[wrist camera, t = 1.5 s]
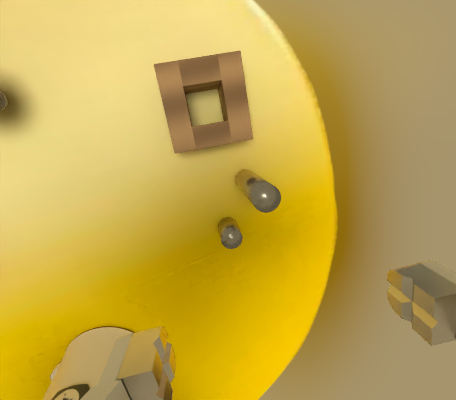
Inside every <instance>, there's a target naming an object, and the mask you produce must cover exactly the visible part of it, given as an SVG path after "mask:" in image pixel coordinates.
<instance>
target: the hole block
mask: <svg viewBox="0 0 456 400" xmlns="http://www.w3.org/2000/svg"><path fill="white" fill-rule="evenodd" d="M154 68H155V72H156V76H157V80H158V84H159V89H160V93H161V97H162V101H163V106H164V110H165V114H166V118H167V122H168V127H169V131H170V135H171V139H172V144H173V148H174V152H175V153H180V152H185V151H191V150H196V149H201V148H207V147H212V146H217V145H223V144H228V143H233V142H238V141H244V140H249V139H253V135H252V128H251V121H250V114H249V107H248V100H247V93H246V86H245V79H244V72H243V65H242V58H241V51H235V52H228V53H222V54H216V55H210V56H203V57H197V58H191V59H184V60H178V61H172V62H165V63H159V64H154ZM217 88H218V90H219V96H220V102H221V108H222V114H223V119H224V121H223V122H217V123H212V124H206V125H201V126H195V127H192V124H191V119H190V115H189V110H188V105H187V100H186V96H185V94H188V93H194V92H200V91H206V90H212V89H217Z"/></svg>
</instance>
